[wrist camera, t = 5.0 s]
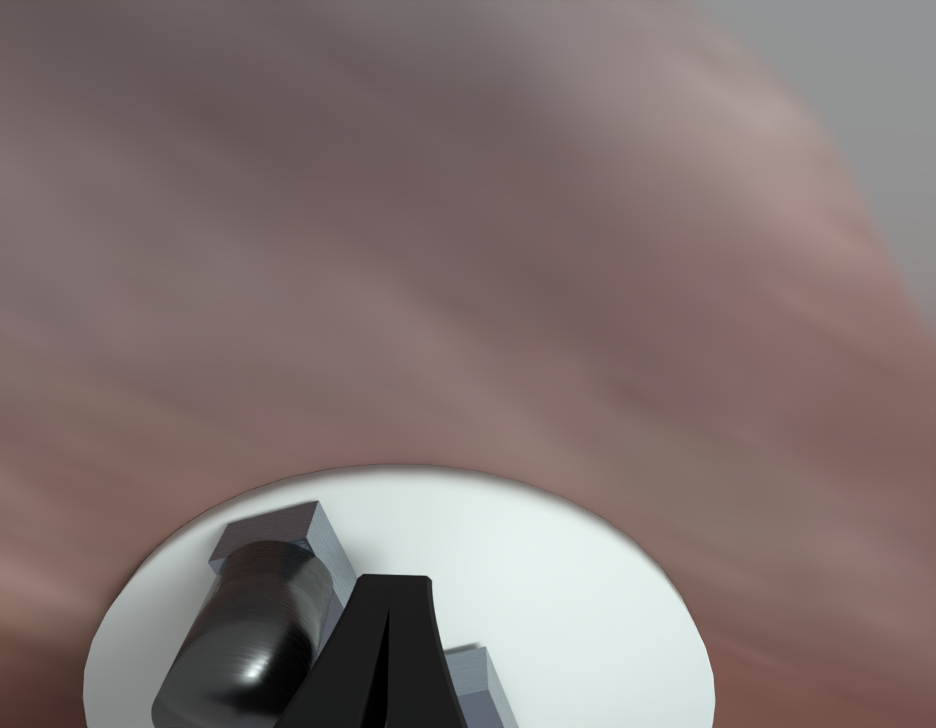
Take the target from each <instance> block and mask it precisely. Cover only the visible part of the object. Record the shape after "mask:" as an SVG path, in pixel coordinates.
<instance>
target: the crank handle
mask: <svg viewBox="0 0 936 728" xmlns="http://www.w3.org/2000/svg"><path fill="white" fill-rule="evenodd" d="M208 563H209V565H210V566H211V568H212V570H213V571H214V573H215V574H216V578H215V580H214V582H213V584H212V586H211V588H210V590H209V592H208V594H207V596H206V598H205V600H204V602H203V604H202V606H201V608H200V610H199V612H198V614H197V616H196V618H195V620H194V622H193V624H192V626H191V628H190V630H189V632H188V634H187V636H186V638H185V640H184V642H183V644H182V646H181V648H180V650H179V652H178V654H177V656H176V658H175V660H174V662H173V664H172V666H171V668H170V670H169V671H168V673H167V675H166V677H165V679H164V681H163V683H162V685H161V687H160V689H159V691H158V693H157V695H156V697H155V699H154V702H153V705H152V709H151V718H152V722H153V725H154V727H155V728H273V726H274V725H275V724H276V722H277V721H278V719H279V718H280V716H281V715H282V713H283V712H284V710H285V709H286V707H287V706H288V704H289V702H290V701H291V699H292V698H293V696H294V695H295V693H296V692H297V690H298V689H299V687H300V686H301V684H302V683H303V681H304V680H305V678H306V676H307V675H308V673H309V671H310V670H311V668H312V666H313V665H314V663H315V661H316V659H317V658H318V656H319V654H320V653H321V651H322V649H323V647H324V646H325V644H326V642H327V640H328V639H329V637H330V635H331V633H332V631H333V630H334V628H335V626H336V624H337V622H338V620H339V618H340V616H341V614H342V612H343V610H344V608H345V606H346V604H347V602H348V600H349V597H350V595H351V593H352V591H353V588H354V586H355V583H356V580H357V578H358V577H357V575H356V573H355V571H354V569H353V567H352V565H351V563H350V561H349V559H348V557H347V555H346V553H345V551H344V549H343V547H342V546H341V544H340V542H339V540H338V538H337V536H336V534H335V532H334V530H333V528H332V526H331V524H330V522H329V520H328V518H327V516H326V514H325V512H324V510H323V508H322V506H321V504H320V502H319V500H317V501H313V502H309V503H305V504H302V505H298V506H294V507H290V508H286V509H282V510H278V511H275V512H271V513H267V514H263V515H259V516H255V517H252V518H248V519H244V520H240V521H236V522H232V523H228V525H227V527H226V529H225V531H224V532H223V534H222V536H221V538H220V540H219V542H218V544H217V546H216V547H215V549H214V551H213V553H212V555H211V557H210V559H209V561H208ZM445 658H446V661H447V665H448V668H449V672H450V675H451V679H452V682H453V685H454V688H455V691H456V694H457V697H458V700H459V703H460V706H461V709H462V712H463V715H464V717H465V720H466V723H467V726H468V728H519V727H518V724H517V722H516V719H515V717H514V714H513V712H512V709H511V707H510V704H509V702H508V699H507V697H506V695H505V692H504V690H503V687H502V685H501V682H500V680H499V677H498V675H497V672H496V670H495V667H494V665H493V662H492V660H491V657H490V655H489V652H488V650H487V648H486V646H485V647H480V648H476V649H472V650H467V651H463V652H458V653H454V654H449V655H445ZM386 725H387V721H386ZM385 728H386V726H385Z"/></svg>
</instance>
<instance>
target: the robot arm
mask: <svg viewBox="0 0 936 728" xmlns="http://www.w3.org/2000/svg"><path fill="white" fill-rule="evenodd" d="M386 721H387V725H386ZM385 726H386V728H468V726H467V723H466V720H465V717H464V715H463V712H462V709H461V706H460V703H459V700H458V697H457V694H456V691H455V688H454V685H453V682H452V679H451V675H450V672H449V668H448V665H447V661H446V658H445V655H444V651H443V647H442V643H441V639H440V634H439V630H438V625H437V620H436V615H435V609H434V602H433V591H432V580H431V579H430V578H429V577H428V576H426V575H393V574H362V575H361V576H359V577H358V578H357V580H356V583H355V586H354V588H353V591H352V593H351V595H350V597H349V600H348V602H347V604H346V606H345V608H344V610H343V612H342V614H341V616H340V618H339V620H338V622H337V624H336V626H335V628H334V630H333V631H332V633H331V635H330V637H329V639H328V640H327V642H326V644H325V646H324V647H323V649H322V651H321V653H320V654H319V656H318V658H317V659H316V661H315V663H314V665H313V666H312V668H311V670H310V671H309V673H308V675H307V676H306V678H305V680H304V681H303V683H302V684H301V686H300V687H299V689H298V690H297V692H296V693H295V695H294V696H293V698H292V699H291V701H290V702H289V704H288V706H287V707H286V709H285V710H284V712H283V713H282V715H281V716H280V718H279V719H278V721H277V722H276V724H275V725H274V726H273V728H385Z"/></svg>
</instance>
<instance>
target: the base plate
mask: <svg viewBox="0 0 936 728" xmlns="http://www.w3.org/2000/svg"><path fill="white" fill-rule="evenodd" d="M317 500H319V502H320V504H321V506H322V508H323V510H324V512H325V514H326V516H327V518H328V520H329V522H330V524H331V526H332V528H333V530H334V532H335V534H336V536H337V538H338V540H339V542H340V544H341V546H342V547H343V549H344V551H345V553H346V555H347V557H348V559H349V561H350V563H351V565H352V567H353V569H354V571H355V573H356V575H357V577H359V576H361V575H362V574H393V575H426V576H428V577H429V578H430V579H431V580H432V591H433V602H434V609H435V615H436V620H437V625H438V630H439V634H440V639H441V643H442V647H443V651H444V655H449V654H454V653H458V652H463V651H467V650H472V649H476V648H480V647H485V646H486V648H487V650H488V652H489V655H490V657H491V660H492V662H493V665H494V667H495V670H496V672H497V675H498V677H499V680H500V682H501V685H502V687H503V690H504V692H505V695H506V697H507V699H508V702H509V704H510V707H511V709H512V712H513V714H514V717H515V719H516V722H517V724H518V727H519V728H712V723H713V715H714V708H715V694H714V680H713V673H712V669H711V666H710V662H709V659H708V655H707V651H706V648H705V646H704V643H703V641H702V639H701V637H700V635H699V633H698V630H697V628H696V626H695V624H694V622H693V619H692V617H691V615H690V613H689V611H688V609H687V607H686V605H685V603H684V601H683V599H682V597H681V595H680V593H679V591H678V590H677V588H676V587H675V586H674V584H673V583H672V582H671V580H670V579H669V578H668V576H667V575H666V574H665V572H664V571H663V570H662V568H661V567H660V566H659V564H658V563H657V562H656V561H655V560H654V559H652V558H651V557H650V556H649V555H648V554H647V553H646V552H645V551H644V550H643V549H642V548H641V547H640V546H639V545H638V544H637V543H636V542H635V541H634V540H633V539H631V538H630V537H628V536H627V535H626V534H624V533H623V532H621V531H620V530H619V529H617V528H616V527H614V526H613V525H612V524H610V523H609V522H607V521H606V520H605V519H603V518H602V517H600V516H598V515H596V514H594V513H592V512H590V511H589V510H587V509H585V508H583V507H581V506H579V505H577V504H575V503H573V502H571V501H570V500H568V499H566V498H564V497H561V496H558V495H556V494H553V493H550V492H548V491H545V490H542V489H540V488H537V487H534V486H532V485H529V484H526V483H524V482H520V481H516V480H512V479H508V478H504V477H500V476H496V475H492V474H488V473H484V472H479V471H473V470H465V469H458V468H450V467H443V466H435V465H411V464H375V465H364V466H353V467H341V468H333V469H328V470H323V471H318V472H313V473H308V474H303V475H298V476H293V477H288V478H285V479H282V480H279V481H276V482H273V483H270V484H267V485H264V486H261V487H258V488H255V489H252V490H249V491H246V492H244V493H242V494H240V495H238V496H236V497H233V498H231V499H229V500H227V501H225V502H223V503H221V504H219V505H217V506H215V507H213V508H210V509H208V510H207V511H205V512H204V513H202V514H201V515H199V516H198V517H196V518H195V519H193V520H192V521H190V522H189V523H187V524H186V525H184V526H183V527H181V528H179V529H178V530H176V531H175V532H174V533H173V534H172V535H171V536H169V537H168V538H167V539H166V540H165V541H164V542H163V543H162V544H161V545H160V546H158V547H157V548H156V549H155V550H154V551H153V552H152V553H151V554H150V555H149V556H148V557H147V558H146V559H145V560H144V562H143V563H142V564H141V566H140V567H139V568H138V569H137V571H136V572H135V573H134V575H133V576H132V577H131V578H130V580H129V581H128V582H127V584H126V585H125V587H124V588H123V590H122V591H121V593H120V594H119V595H118V597H117V598H116V600H115V601H114V603H113V604H112V606H111V607H110V609H109V610H108V612H107V613H106V615H105V617H104V619H103V621H102V623H101V625H100V627H99V629H98V631H97V633H96V635H95V637H94V639H93V641H92V644H91V648H90V651H89V655H88V659H87V662H86V666H85V670H84V687H83V702H84V709H85V715H86V722H87V727H88V728H155V727H154V725H153V722H152V718H151V709H152V705H153V702H154V699H155V697H156V695H157V693H158V691H159V689H160V687H161V685H162V683H163V681H164V679H165V677H166V675H167V673H168V671H169V670H170V668H171V666H172V664H173V662H174V660H175V658H176V656H177V654H178V652H179V650H180V648H181V646H182V644H183V642H184V640H185V638H186V636H187V634H188V632H189V630H190V628H191V626H192V624H193V622H194V620H195V618H196V616H197V614H198V612H199V610H200V608H201V606H202V604H203V602H204V600H205V598H206V596H207V594H208V592H209V590H210V588H211V586H212V584H213V582H214V580H215V578H216V574H215V573H214V571H213V570H212V568H211V566H210V565H209V563H208V561H209V559H210V557H211V555H212V553H213V551H214V549H215V547H216V546H217V544H218V542H219V540H220V538H221V536H222V534H223V532H224V531H225V529H226V527H227V525H228V523H232V522H236V521H240V520H244V519H248V518H252V517H255V516H259V515H263V514H267V513H271V512H275V511H278V510H282V509H286V508H290V507H294V506H298V505H302V504H305V503H309V502H313V501H317Z"/></svg>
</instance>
